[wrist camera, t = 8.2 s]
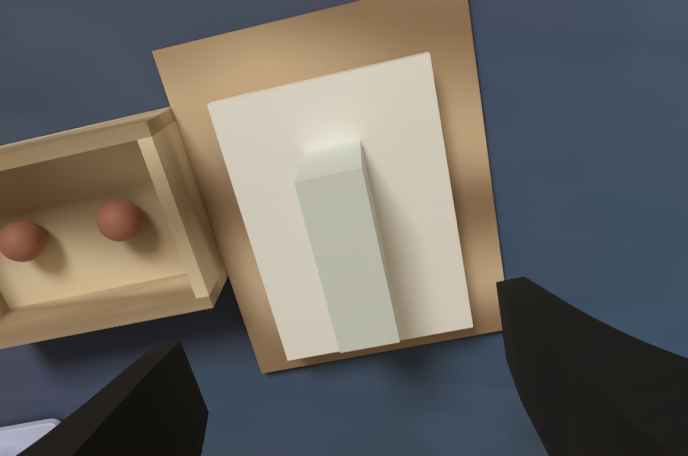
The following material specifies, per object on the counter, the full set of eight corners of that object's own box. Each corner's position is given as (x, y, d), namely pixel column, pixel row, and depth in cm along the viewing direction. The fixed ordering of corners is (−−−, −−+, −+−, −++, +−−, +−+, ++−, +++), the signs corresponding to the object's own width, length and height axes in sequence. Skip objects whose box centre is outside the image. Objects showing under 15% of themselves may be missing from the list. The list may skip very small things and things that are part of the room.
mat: (507, 323, 24) (510, 328, 23) (263, 368, 25) (261, 373, 24) (462, -25, 18) (464, -25, 18) (155, 50, 20) (152, 51, 19)
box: (230, 271, 23) (213, 307, 20) (10, 314, 24) (-35, 355, 21) (174, 105, 20) (146, 121, 17) (-70, 162, 21) (-133, 185, 18)
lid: (424, 50, 19) (447, 63, 14) (466, 308, 23) (494, 384, 18) (216, 98, 20) (175, 125, 15) (291, 341, 24) (276, 421, 19)
